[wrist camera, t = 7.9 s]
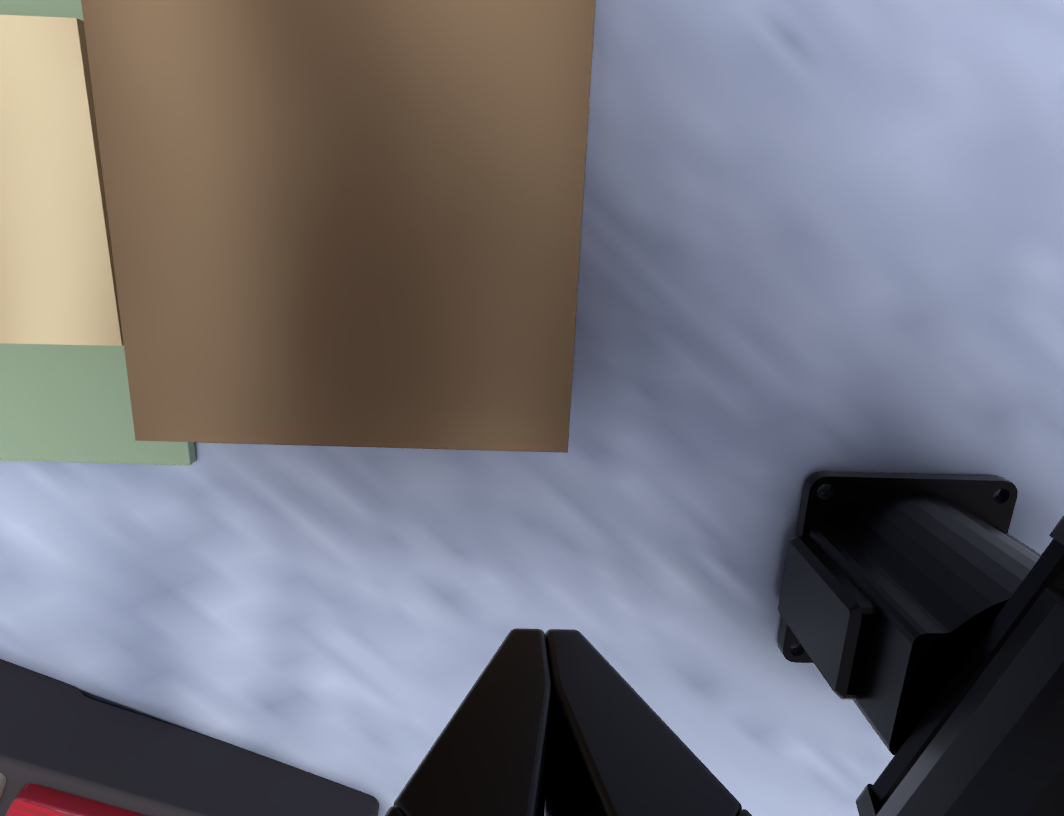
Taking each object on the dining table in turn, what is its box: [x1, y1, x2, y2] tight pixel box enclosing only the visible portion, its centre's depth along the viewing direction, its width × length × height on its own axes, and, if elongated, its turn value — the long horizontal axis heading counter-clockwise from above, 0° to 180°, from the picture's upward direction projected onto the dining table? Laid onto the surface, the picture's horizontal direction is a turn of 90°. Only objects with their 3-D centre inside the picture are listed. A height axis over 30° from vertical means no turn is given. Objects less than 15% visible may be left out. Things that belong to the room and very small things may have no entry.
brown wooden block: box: [81, 0, 595, 452], centre depth 16 cm, size 10×12×4 cm
